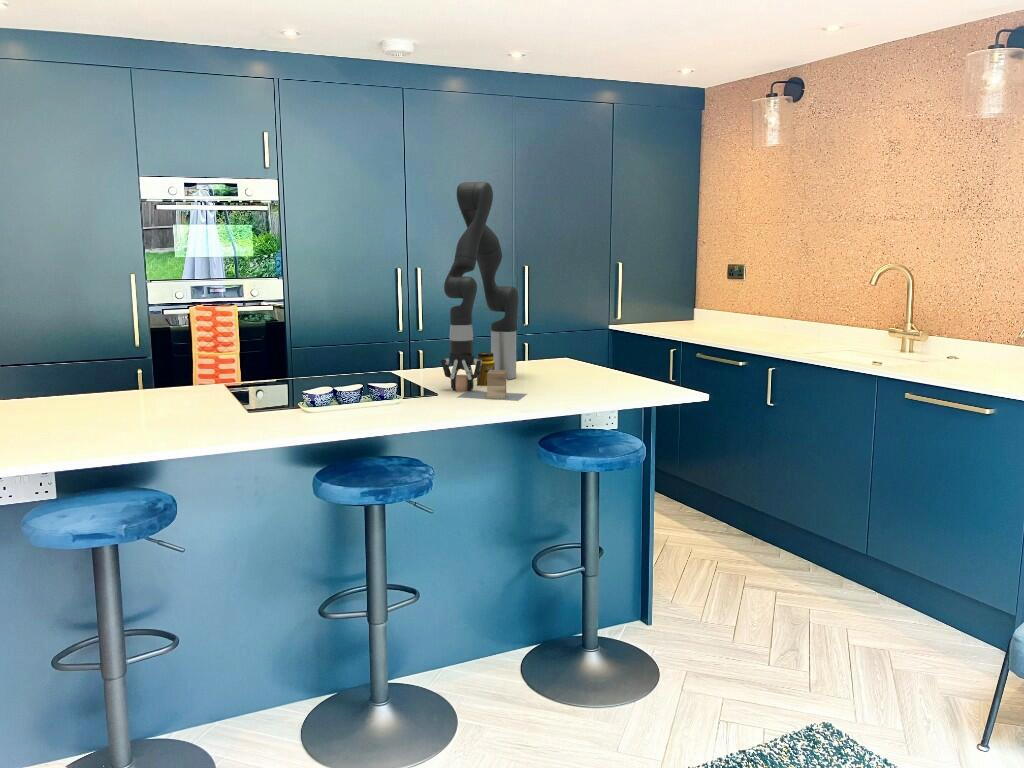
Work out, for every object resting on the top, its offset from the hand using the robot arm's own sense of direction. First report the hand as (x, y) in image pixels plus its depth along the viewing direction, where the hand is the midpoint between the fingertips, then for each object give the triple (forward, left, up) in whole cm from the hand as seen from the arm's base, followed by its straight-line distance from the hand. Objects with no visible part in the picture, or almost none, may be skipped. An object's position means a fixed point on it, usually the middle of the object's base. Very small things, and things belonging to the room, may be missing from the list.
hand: (462, 390), depth 274 cm
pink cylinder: (0, 0, -1) cm, 1 cm away
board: (+6, +12, -1) cm, 14 cm away
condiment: (-13, +3, -2) cm, 14 cm away
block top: (+8, +14, +4) cm, 17 cm away
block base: (+8, +14, 0) cm, 16 cm away
